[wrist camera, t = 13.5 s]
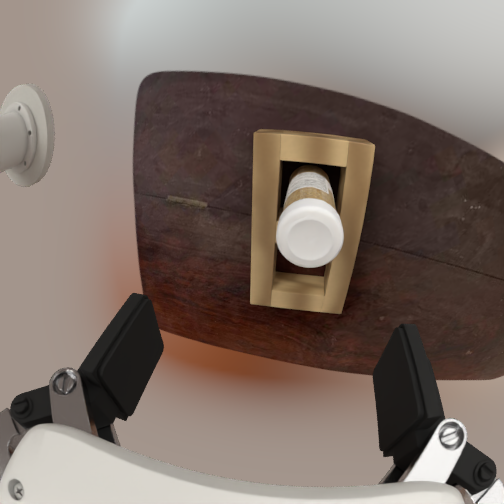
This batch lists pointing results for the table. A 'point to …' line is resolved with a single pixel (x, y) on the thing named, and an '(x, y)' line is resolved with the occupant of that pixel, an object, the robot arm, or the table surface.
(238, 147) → the table surface
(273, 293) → the holder
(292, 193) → the sprinkles bottle
